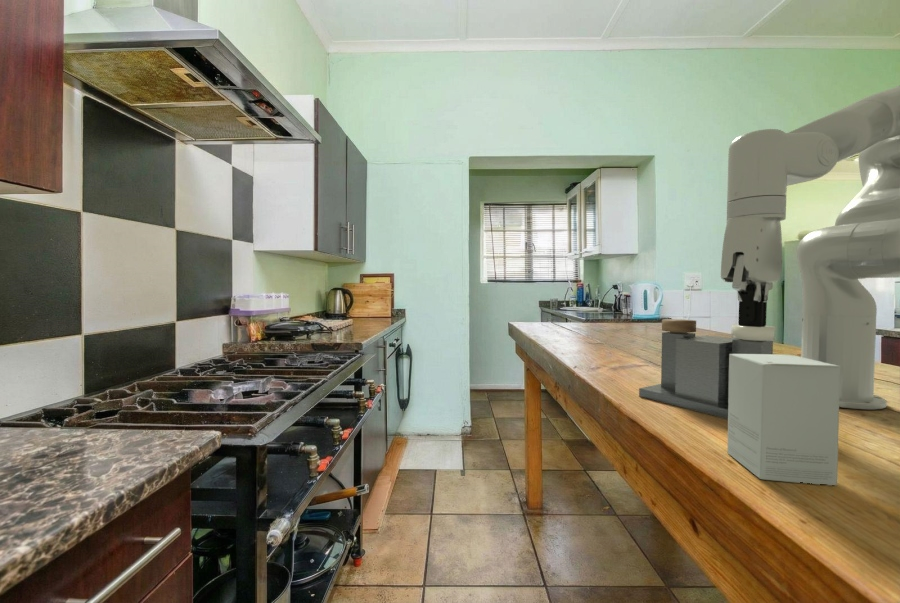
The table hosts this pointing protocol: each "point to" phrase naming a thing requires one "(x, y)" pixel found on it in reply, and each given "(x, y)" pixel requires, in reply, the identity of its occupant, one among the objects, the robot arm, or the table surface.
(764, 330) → the cream plunger
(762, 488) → the table surface
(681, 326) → the walnut plunger
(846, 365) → the robot arm
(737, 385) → the supplement box
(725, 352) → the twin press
